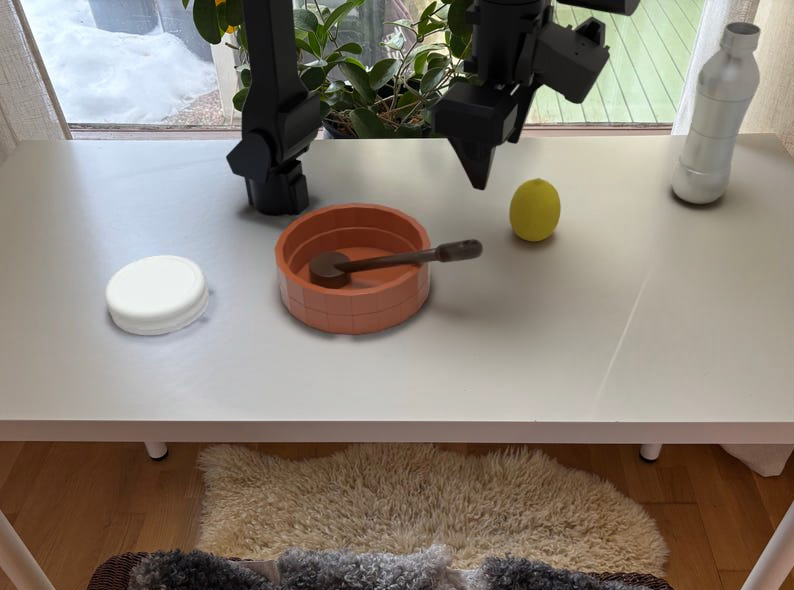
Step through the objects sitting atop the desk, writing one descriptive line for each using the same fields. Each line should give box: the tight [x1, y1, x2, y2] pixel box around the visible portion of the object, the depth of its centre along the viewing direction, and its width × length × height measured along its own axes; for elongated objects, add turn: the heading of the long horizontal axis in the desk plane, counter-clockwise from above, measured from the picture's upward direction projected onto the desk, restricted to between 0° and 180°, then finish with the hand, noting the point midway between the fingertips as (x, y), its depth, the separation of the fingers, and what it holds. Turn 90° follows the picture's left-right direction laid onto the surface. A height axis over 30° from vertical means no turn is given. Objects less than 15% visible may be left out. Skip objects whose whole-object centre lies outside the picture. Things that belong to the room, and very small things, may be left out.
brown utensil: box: [309, 238, 484, 289], centre depth 77 cm, size 19×4×10 cm, turn 64°
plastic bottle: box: [671, 21, 762, 205], centre depth 87 cm, size 6×7×20 cm
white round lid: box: [104, 254, 210, 336], centre depth 79 cm, size 10×10×4 cm
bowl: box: [274, 202, 432, 335], centre depth 80 cm, size 16×16×6 cm
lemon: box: [508, 177, 562, 242], centre depth 85 cm, size 6×6×8 cm
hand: (496, 164), depth 73 cm, fingers open, 9 cm apart
